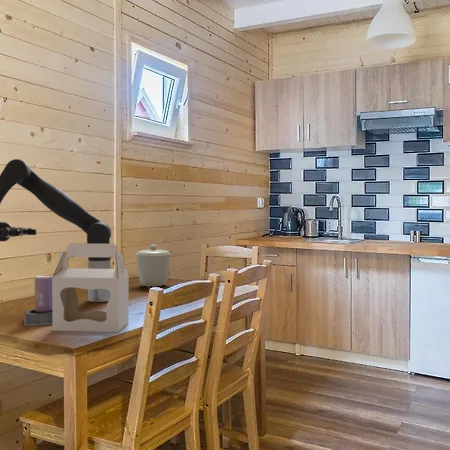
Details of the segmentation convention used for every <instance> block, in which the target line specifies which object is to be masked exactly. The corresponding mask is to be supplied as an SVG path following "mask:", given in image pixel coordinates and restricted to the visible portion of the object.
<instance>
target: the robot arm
mask: <svg viewBox="0 0 450 450" xmlns="http://www.w3.org/2000/svg"><path fill="white" fill-rule="evenodd" d="M15 185H19V186H20V187H22V188H23V189H25V190H26V191H28V192H29V193H31V194H33V196H34V197H36V198H37V199H38V200H39V202H41V204H43V205H44V206H45V207H46V208H47V209H49V210H50V211H51V212H52V213H54V214H56V216H58V217H60V218H61V219H64V220H65V221H67V222H69V223H71V224H73V225H74V226H77V227H78V228H79V229H81V230H82V231H83V232H84V233H85V234H86V243H91V244H110V238H111V237H112V230H111V228H110V226H109V225H108V224H107V223H105V222H103V221H102V220H100V219H99V218H97V217H95V216H94V215H92V214H90V213H89V212H88V211H87V210H85V208H83V207H82V205H80V204H79V203H78V202H77V201H76V200H75V199H73V198H72V197H71V196H69V195H68V194H67V193H65V191H63V190H61V189H60V188H58V187H56V186H54V185H53V184H51V183H49V182H47V181H46V180H44V179H43V178H42V177H41V176H39V175H38V174H37V173H36V172H35V171H33V169H31V167H30V166H29V165H28V164H27V163H26V162H25V161H24V160H22V159H18V158H16V159H12V160H10V161H9V162H7V164H6V165H5V167H3V170H2V171H1V173H0V204H1V203H2V202H3V200H4V198H5V196H6V195H7V194H8V192H9V191H10V190H12V188H13V187H14V186H15ZM23 236H37V229H35V228H31V227H29V228H26V227H22V226H20V227H18V226H17V227H16V226H11V225H10V224H9V223H8V222H5V221H0V242H7V241H9V240H10V238H15V237H23ZM87 258H88V260H87V261H88V262H87V264H88V265H87V267H88V268H87V269H111V258H110V257H87ZM87 292H88V293H87V294H88V296H87V298H88V302H92V303H105V302H108V301H109V298H110V292H109V291H108V290H106V289H92V290H88V289H87Z"/></svg>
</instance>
